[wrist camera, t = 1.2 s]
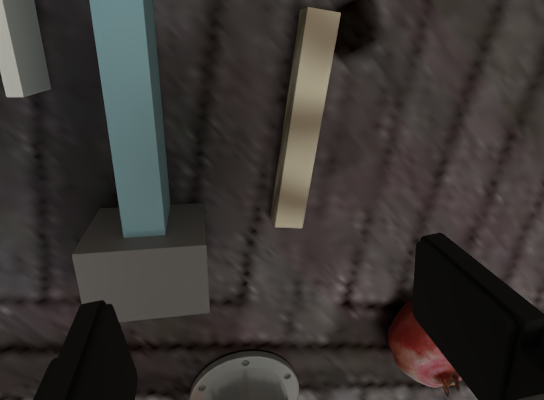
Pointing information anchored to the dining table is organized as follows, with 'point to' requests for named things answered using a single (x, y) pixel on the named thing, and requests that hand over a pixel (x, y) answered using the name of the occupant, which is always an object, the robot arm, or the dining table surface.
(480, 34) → the dining table surface
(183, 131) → the dining table surface
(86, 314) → the robot arm
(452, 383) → the fruit
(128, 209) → the teal gray angled bar
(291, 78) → the stick
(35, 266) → the dining table surface
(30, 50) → the bay
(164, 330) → the dining table surface
